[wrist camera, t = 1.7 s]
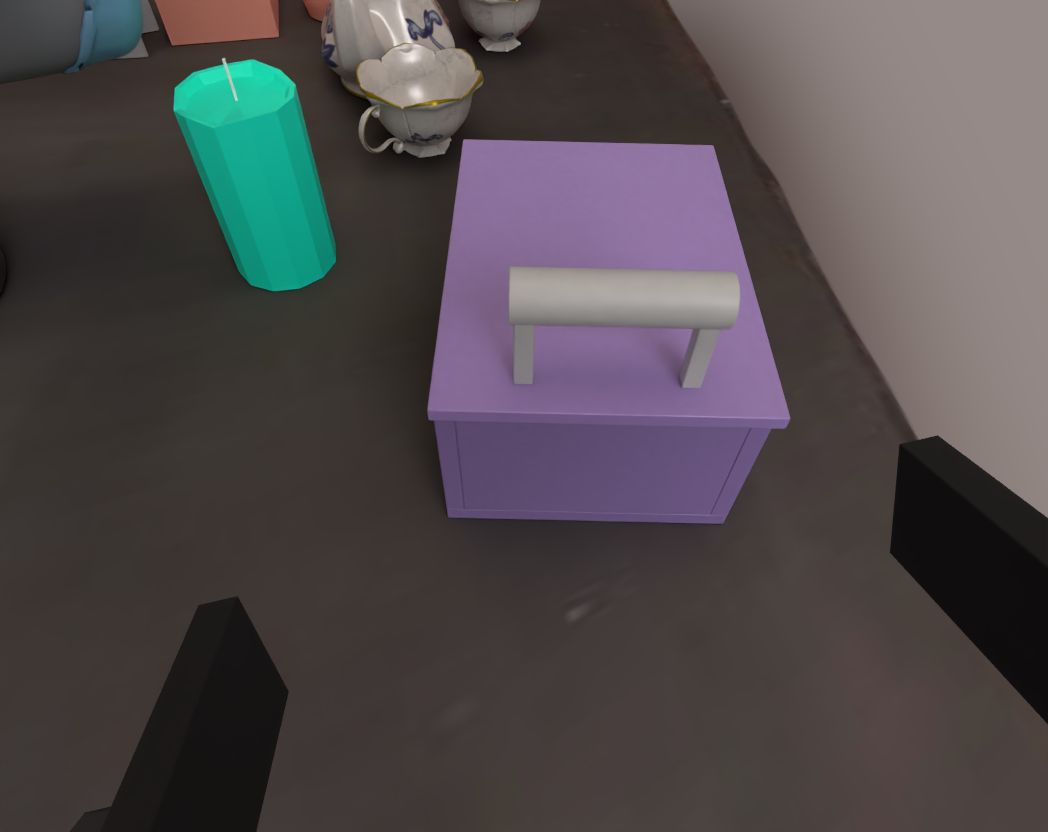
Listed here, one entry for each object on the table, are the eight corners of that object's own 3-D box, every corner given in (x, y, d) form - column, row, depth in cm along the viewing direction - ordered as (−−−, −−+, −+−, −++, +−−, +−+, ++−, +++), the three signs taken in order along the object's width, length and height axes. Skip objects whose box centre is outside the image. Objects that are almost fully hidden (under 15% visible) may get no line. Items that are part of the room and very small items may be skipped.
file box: (723, 524, 31) (780, 412, 24) (447, 518, 31) (430, 404, 24) (678, 281, 41) (710, 156, 35) (471, 276, 41) (463, 150, 35)
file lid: (785, 429, 24) (845, 317, 20) (428, 421, 24) (410, 307, 20) (710, 155, 35) (739, 45, 30) (463, 150, 35) (457, 38, 30)
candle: (256, 225, 44) (186, 28, 34) (347, 231, 44) (302, 34, 34) (223, 288, 40) (135, 86, 31) (323, 294, 40) (265, 93, 30)
